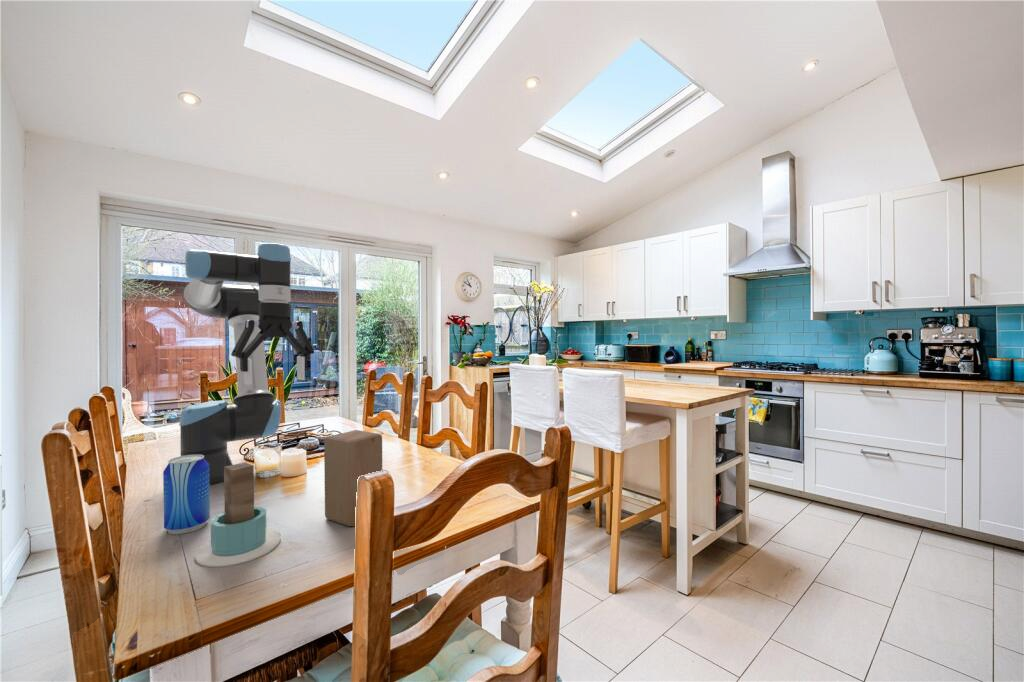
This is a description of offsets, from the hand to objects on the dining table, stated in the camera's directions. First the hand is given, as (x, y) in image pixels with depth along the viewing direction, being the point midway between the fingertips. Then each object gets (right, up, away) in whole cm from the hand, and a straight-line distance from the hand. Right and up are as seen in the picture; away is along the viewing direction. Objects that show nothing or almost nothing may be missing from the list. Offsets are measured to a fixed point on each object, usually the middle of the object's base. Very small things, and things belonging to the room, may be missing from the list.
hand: (275, 382), depth 114 cm
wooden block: (+25, -32, -10) cm, 42 cm away
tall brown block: (+6, -30, -25) cm, 40 cm away
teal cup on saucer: (+6, -32, -25) cm, 41 cm away
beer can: (-12, -32, -16) cm, 38 cm away
